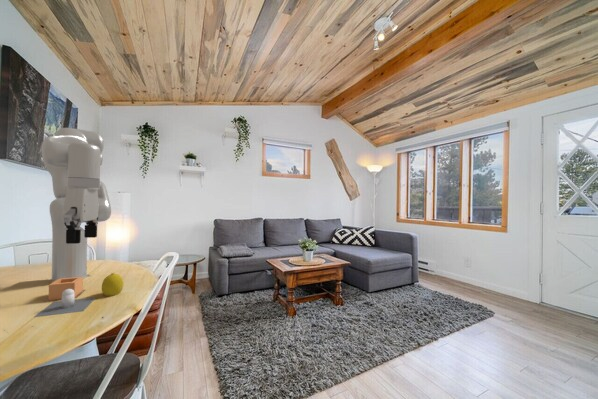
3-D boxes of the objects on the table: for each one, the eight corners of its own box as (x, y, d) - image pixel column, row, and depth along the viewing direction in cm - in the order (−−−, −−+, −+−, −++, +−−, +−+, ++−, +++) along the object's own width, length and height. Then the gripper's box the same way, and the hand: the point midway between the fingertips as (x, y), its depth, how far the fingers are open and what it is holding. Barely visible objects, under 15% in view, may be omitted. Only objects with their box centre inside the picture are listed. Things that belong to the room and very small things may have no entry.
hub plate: (53, 306, 72) (54, 285, 72) (96, 302, 76) (96, 281, 76) (33, 323, 63) (33, 298, 63) (83, 316, 67) (83, 293, 67)
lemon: (111, 302, 76) (112, 276, 76) (96, 300, 77) (97, 274, 77) (127, 295, 82) (127, 271, 82) (113, 294, 83) (113, 270, 83)
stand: (56, 297, 79) (56, 282, 79) (86, 294, 82) (86, 280, 82) (43, 306, 72) (43, 291, 72) (76, 302, 75) (76, 288, 75)
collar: (58, 292, 79) (58, 278, 79) (82, 290, 81) (82, 276, 81) (48, 300, 73) (48, 284, 73) (74, 297, 76) (74, 282, 76)
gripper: (84, 184, 83) (83, 235, 84) (49, 182, 67) (48, 246, 67) (110, 185, 86) (109, 235, 86) (83, 184, 69) (81, 245, 69)
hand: (82, 240), depth 77 cm, fingers open, 9 cm apart
